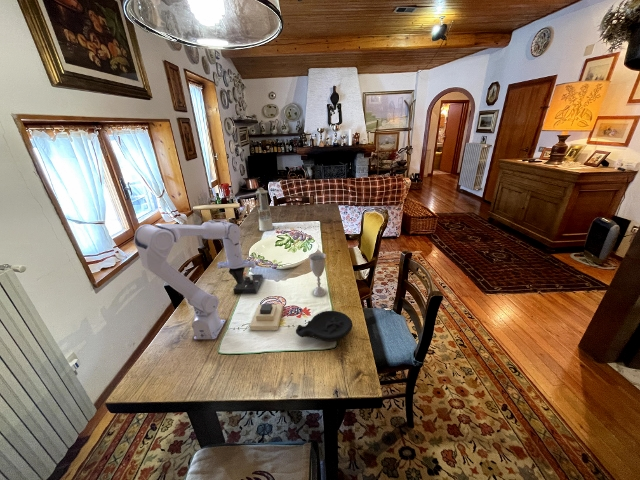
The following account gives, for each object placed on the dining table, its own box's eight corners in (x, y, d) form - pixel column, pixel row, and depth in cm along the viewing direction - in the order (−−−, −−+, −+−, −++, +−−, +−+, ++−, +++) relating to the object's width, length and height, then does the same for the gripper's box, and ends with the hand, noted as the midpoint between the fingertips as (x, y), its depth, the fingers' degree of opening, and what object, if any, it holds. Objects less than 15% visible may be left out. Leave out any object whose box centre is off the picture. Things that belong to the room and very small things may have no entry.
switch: (270, 314, 94) (269, 310, 93) (260, 314, 94) (259, 310, 93) (272, 308, 97) (271, 303, 96) (263, 308, 97) (262, 303, 96)
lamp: (274, 225, 190) (269, 185, 177) (271, 232, 178) (265, 190, 165) (261, 226, 190) (254, 186, 178) (256, 232, 178) (249, 190, 166)
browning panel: (256, 293, 112) (255, 288, 111) (234, 293, 113) (233, 288, 111) (263, 278, 123) (262, 274, 122) (243, 279, 123) (242, 274, 122)
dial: (253, 282, 116) (252, 275, 114) (251, 283, 115) (249, 276, 113) (246, 279, 118) (244, 272, 117) (243, 280, 117) (242, 273, 116)
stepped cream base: (277, 330, 91) (276, 321, 89) (250, 330, 92) (248, 321, 90) (283, 308, 102) (282, 300, 100) (259, 308, 102) (257, 300, 101)
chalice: (317, 286, 115) (314, 251, 107) (330, 290, 111) (328, 254, 104) (308, 295, 109) (305, 258, 102) (321, 299, 106) (319, 262, 98)
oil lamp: (294, 324, 93) (293, 313, 91) (345, 315, 96) (345, 304, 94) (299, 357, 80) (298, 345, 78) (358, 345, 83) (358, 333, 81)
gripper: (255, 247, 99) (260, 277, 105) (219, 248, 100) (226, 277, 106) (250, 256, 93) (255, 287, 98) (211, 257, 94) (219, 287, 99)
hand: (240, 282), depth 101 cm, fingers closed
